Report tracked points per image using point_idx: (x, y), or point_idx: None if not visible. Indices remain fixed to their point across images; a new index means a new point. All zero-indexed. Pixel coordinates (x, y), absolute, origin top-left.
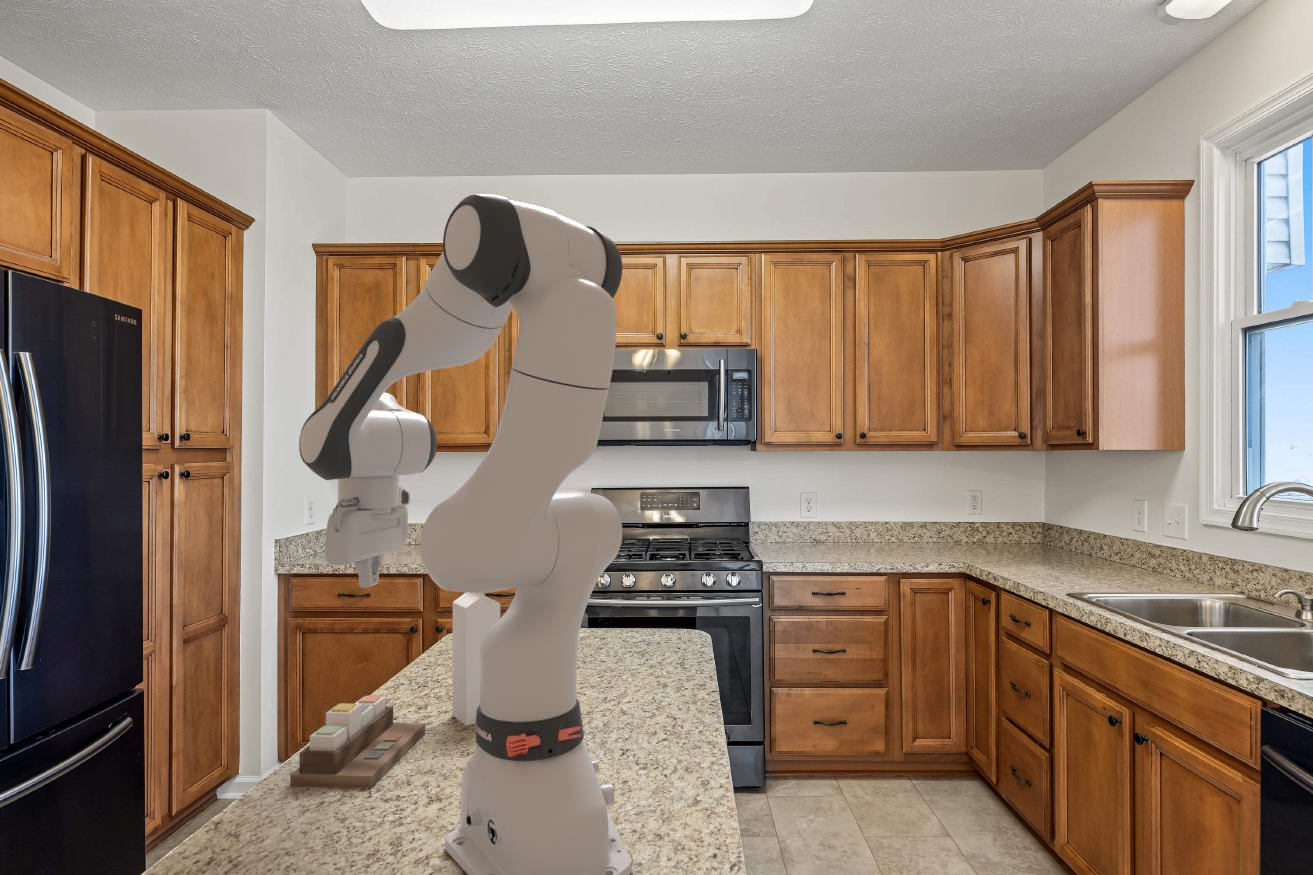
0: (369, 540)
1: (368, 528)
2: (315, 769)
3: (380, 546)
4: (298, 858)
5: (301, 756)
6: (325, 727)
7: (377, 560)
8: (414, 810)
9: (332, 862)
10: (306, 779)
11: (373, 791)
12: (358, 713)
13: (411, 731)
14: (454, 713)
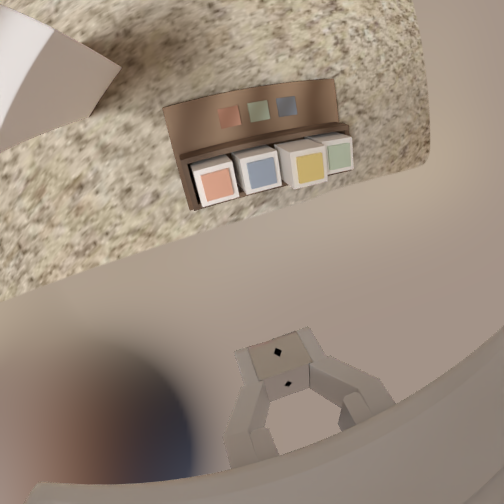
0: (480, 444)
1: (495, 493)
2: None
3: (340, 481)
4: (421, 83)
5: None
6: (336, 164)
7: (270, 434)
8: (355, 19)
9: (421, 57)
10: None
11: (333, 73)
12: (293, 148)
13: (198, 107)
14: (92, 109)
